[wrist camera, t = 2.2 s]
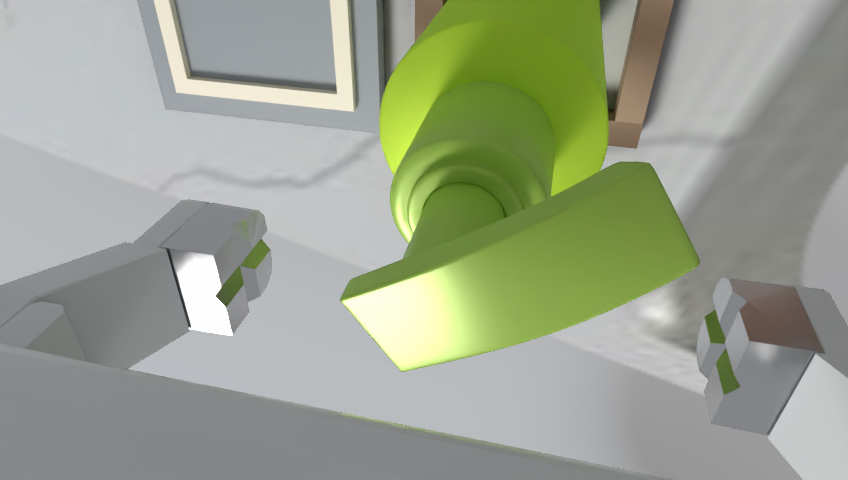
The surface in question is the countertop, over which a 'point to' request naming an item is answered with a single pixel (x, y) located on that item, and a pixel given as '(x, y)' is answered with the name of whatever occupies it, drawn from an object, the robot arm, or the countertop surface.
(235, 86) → the slate board
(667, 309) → the countertop surface
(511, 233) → the soap dispenser
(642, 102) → the walnut template frame
